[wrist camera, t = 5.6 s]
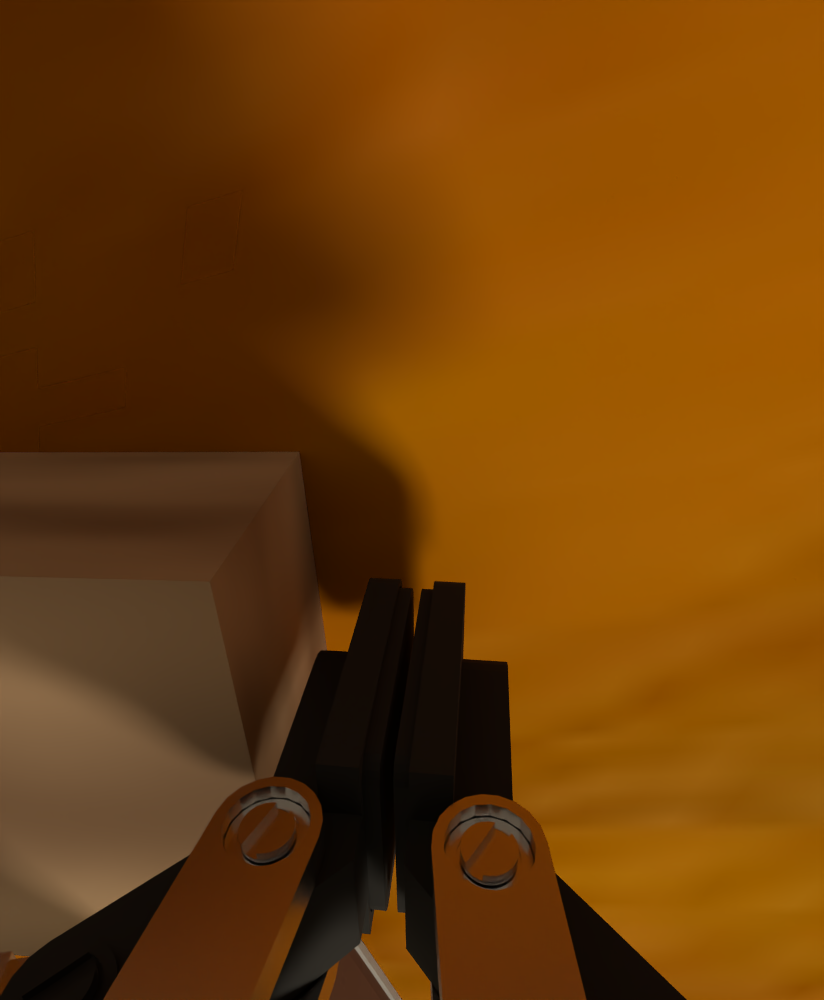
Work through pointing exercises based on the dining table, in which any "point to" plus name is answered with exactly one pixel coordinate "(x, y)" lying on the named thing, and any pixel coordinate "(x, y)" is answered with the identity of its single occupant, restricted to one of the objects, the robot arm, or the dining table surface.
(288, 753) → the robot arm
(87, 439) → the dining table surface
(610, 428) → the dining table surface
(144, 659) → the block
